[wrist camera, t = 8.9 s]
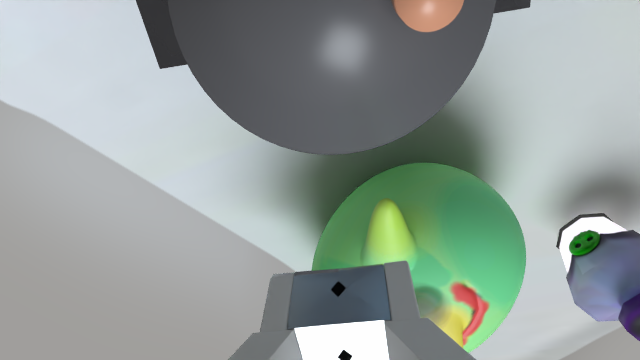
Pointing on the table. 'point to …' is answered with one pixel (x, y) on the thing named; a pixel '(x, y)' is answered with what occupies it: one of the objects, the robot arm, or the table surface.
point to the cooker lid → (331, 64)
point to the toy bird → (435, 244)
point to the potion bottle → (603, 269)
